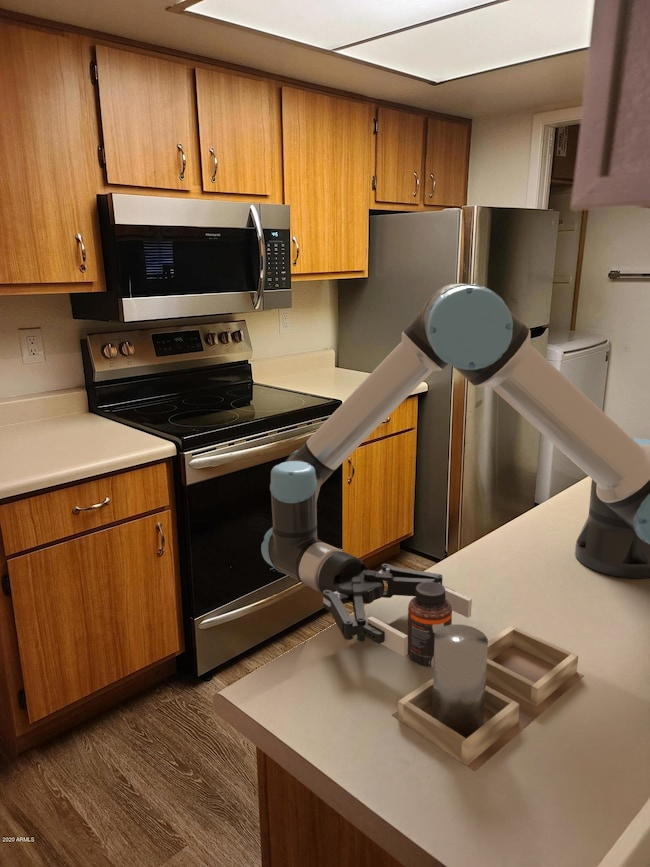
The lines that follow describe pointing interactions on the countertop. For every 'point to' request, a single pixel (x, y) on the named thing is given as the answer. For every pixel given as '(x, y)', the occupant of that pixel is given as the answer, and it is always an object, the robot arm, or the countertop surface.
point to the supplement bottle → (426, 621)
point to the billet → (460, 678)
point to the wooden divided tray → (499, 696)
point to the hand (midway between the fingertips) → (439, 626)
